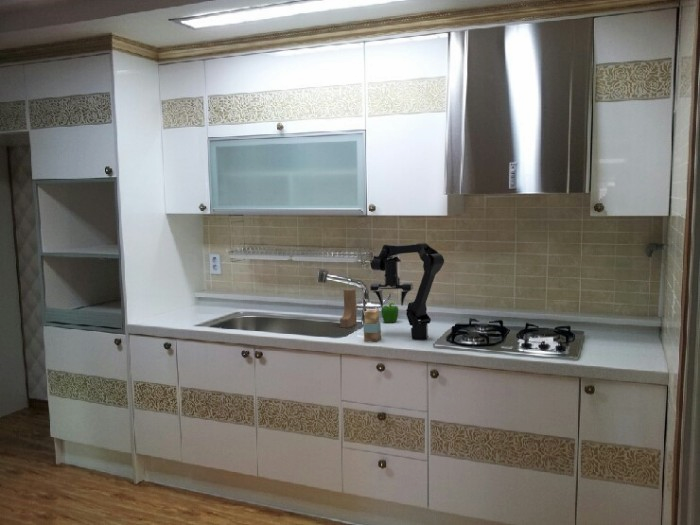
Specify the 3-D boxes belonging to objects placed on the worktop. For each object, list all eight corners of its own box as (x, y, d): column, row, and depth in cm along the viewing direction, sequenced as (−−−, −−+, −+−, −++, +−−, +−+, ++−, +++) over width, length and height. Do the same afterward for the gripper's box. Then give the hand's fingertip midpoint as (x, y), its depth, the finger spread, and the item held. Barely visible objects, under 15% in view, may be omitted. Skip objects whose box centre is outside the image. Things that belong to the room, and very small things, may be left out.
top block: (380, 330, 274) (380, 321, 274) (376, 333, 269) (376, 323, 268) (367, 329, 276) (367, 320, 276) (363, 332, 271) (363, 323, 270)
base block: (381, 339, 275) (380, 330, 274) (377, 342, 269) (377, 333, 269) (368, 338, 277) (367, 329, 276) (364, 341, 271) (363, 332, 271)
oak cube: (378, 321, 274) (378, 310, 274) (375, 323, 269) (375, 312, 269) (368, 321, 276) (367, 309, 275) (364, 323, 271) (364, 311, 270)
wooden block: (347, 328, 301) (346, 291, 299) (339, 327, 303) (338, 291, 301) (357, 324, 308) (355, 288, 307) (349, 324, 311) (347, 288, 309)
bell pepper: (378, 322, 312) (377, 302, 311) (389, 319, 317) (388, 300, 316) (390, 324, 306) (389, 304, 305) (401, 321, 311) (401, 302, 310)
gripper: (414, 269, 286) (415, 302, 288) (375, 269, 292) (376, 302, 293) (410, 272, 276) (411, 307, 277) (369, 272, 281) (370, 306, 283)
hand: (392, 305), depth 283 cm, fingers open, 9 cm apart
